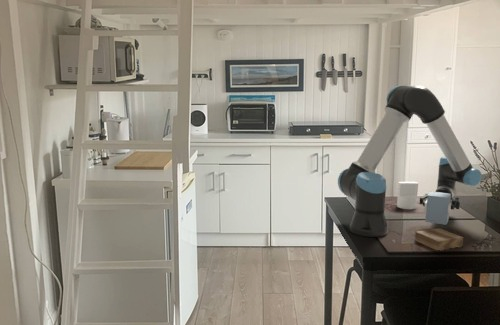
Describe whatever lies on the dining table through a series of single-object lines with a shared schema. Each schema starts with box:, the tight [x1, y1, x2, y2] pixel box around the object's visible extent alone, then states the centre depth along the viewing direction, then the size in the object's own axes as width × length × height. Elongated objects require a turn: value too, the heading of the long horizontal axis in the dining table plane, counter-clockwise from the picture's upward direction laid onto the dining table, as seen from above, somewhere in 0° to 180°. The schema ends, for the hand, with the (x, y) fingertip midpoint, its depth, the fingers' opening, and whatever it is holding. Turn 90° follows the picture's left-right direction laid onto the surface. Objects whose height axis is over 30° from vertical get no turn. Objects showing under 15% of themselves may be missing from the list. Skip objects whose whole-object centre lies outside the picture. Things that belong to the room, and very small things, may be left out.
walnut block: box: [414, 227, 464, 251], centre depth 186 cm, size 12×12×4 cm
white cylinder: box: [396, 181, 419, 210], centre depth 236 cm, size 9×9×12 cm
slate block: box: [424, 191, 451, 226], centre depth 198 cm, size 8×8×11 cm
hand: (437, 207), depth 193 cm, fingers closed on slate block, 8 cm apart
